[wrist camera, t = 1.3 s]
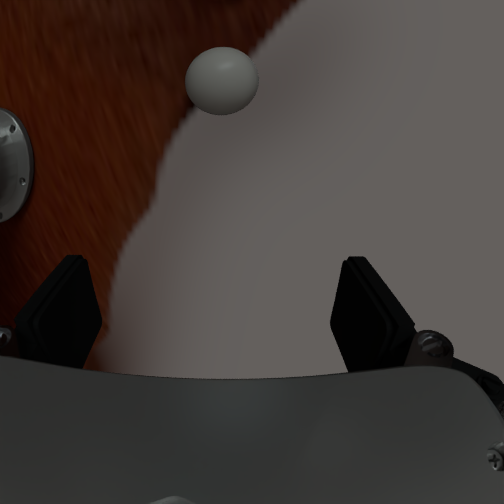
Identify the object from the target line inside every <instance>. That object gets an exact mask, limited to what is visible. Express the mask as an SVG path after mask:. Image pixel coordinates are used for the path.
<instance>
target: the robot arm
mask: <svg viewBox="0 0 504 504" xmlns="http://www.w3.org/2000/svg"><path fill="white" fill-rule="evenodd" d="M33 173H34V160H33V152H32V147H31V143H30V138H29V136H28V134H27V131H26V129H25V127H24V126H23V124H22V122H21V121H20V120H19V118H18V117H17V116H16V115H15V114H13V113H12V112H10V111H9V110H7V109H3V108H0V222H3V221H6V220H8V219H9V218H11V217H12V216H14V215H15V214H16V213H17V212H18V211H20V209H21V208H22V207H23V205H24V204H25V202H26V200H27V198H28V196H29V193H30V189H31V186H32V180H33ZM14 321H15V323H16V325H17V327H16V328H15V329H14V328H12V327H11V326H8V325H0V504H504V384H503V383H502V381H501V380H500V379H499V378H498V377H497V376H496V375H494V374H492V373H489V372H487V371H485V370H482V369H480V368H478V367H475V366H473V365H471V364H468V363H466V362H464V361H461V360H459V359H456V358H454V357H453V354H454V348H453V345H452V343H451V342H450V340H449V339H448V338H447V337H445V336H444V335H443V334H441V333H439V332H436V331H432V330H422V331H419V332H418V333H417V332H416V330H415V328H414V325H415V323H414V322H413V320H412V319H411V318H410V316H409V315H408V313H407V312H406V311H405V309H404V308H403V307H402V305H401V304H400V302H399V301H398V300H397V298H396V297H395V296H394V294H393V293H392V292H391V290H390V289H389V288H388V286H387V285H386V284H385V283H384V281H383V280H382V279H381V277H380V276H379V274H378V273H377V272H376V271H375V269H374V268H373V267H372V265H371V264H370V263H369V262H368V260H367V259H366V258H365V257H363V256H362V257H359V256H358V257H356V256H355V257H348V259H347V260H344V261H343V263H342V268H341V273H340V278H339V283H338V287H337V292H336V297H335V302H334V306H333V311H332V314H331V320H330V326H331V330H332V332H333V335H334V337H335V340H336V342H337V345H338V347H339V349H340V352H341V355H342V357H343V360H344V362H345V365H346V368H347V370H348V372H346V373H339V374H338V373H337V374H328V375H316V376H303V377H286V378H263V379H194V378H169V377H155V376H142V375H130V374H120V373H111V372H102V371H94V370H87V369H82V368H83V366H84V364H85V361H86V359H87V357H88V354H89V352H90V350H91V348H92V345H93V343H94V341H95V339H96V337H97V334H98V332H99V330H100V328H101V326H102V317H101V313H100V310H99V306H98V302H97V299H96V295H95V291H94V287H93V283H92V279H91V275H90V271H89V266H88V262H87V260H86V259H84V258H83V257H82V256H81V255H67V256H66V257H65V258H64V259H63V260H62V261H61V262H60V263H59V264H58V266H57V267H56V268H55V269H54V270H53V271H52V273H51V274H50V275H49V276H48V277H47V278H46V280H45V281H44V282H43V283H42V284H41V286H40V287H39V288H38V289H37V290H36V292H35V293H34V294H33V295H32V297H31V298H30V299H29V300H28V302H27V303H26V304H25V305H24V307H23V308H22V309H21V311H20V312H19V313H18V315H17V316H16V317H15V319H14Z"/></svg>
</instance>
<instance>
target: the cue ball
mask: <svg viewBox="0 0 504 504" xmlns="http://www.w3.org/2000/svg"><path fill="white" fill-rule="evenodd" d="M258 83H259V77H258V72H257V69H256V67H255V64H254V63H253V61H252V60H251V59H250V58H249V57H248V56H247V55H246V54H244V53H243V52H241V51H239V50H236V49H233V48H228V47H218V48H213V49H209V50H207V51H205V52H203V53H201V54H200V55H199V56H197V57H196V58H195V59H194V60H193V62H192V63H191V64H190V66H189V68H188V70H187V73H186V78H185V86H186V91H187V94H188V96H189V98H190V99H191V101H192V102H193V103H194V104H195V105H196V106H197V107H198V108H199V109H201V110H203V111H205V112H207V113H210V114H215V115H227V114H232V113H235V112H237V111H239V110H241V109H243V108H244V107H245V106H247V105H248V104H249V103H250V101H251V100H252V99H253V98H254V96H255V94H256V92H257V88H258Z"/></svg>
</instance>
